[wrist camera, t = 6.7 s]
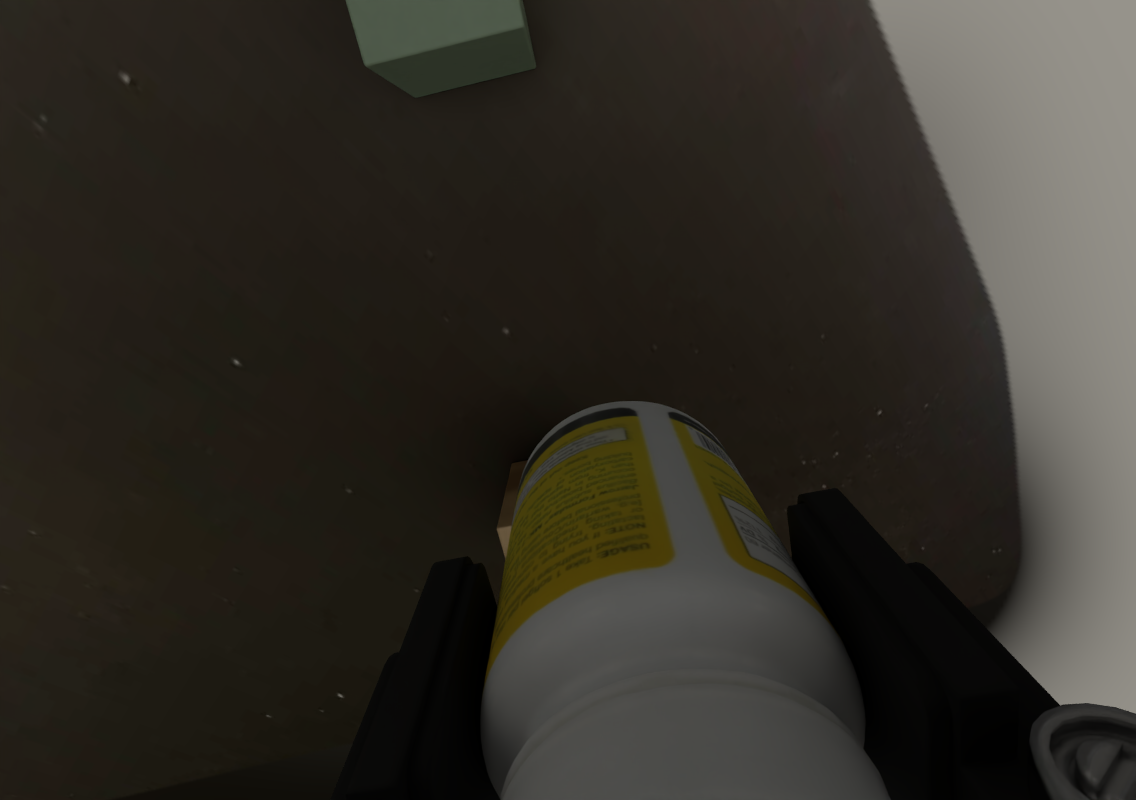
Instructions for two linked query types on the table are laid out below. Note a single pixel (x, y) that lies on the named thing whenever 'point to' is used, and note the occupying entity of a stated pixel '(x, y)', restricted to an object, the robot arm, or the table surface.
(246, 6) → the table surface
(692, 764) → the supplement bottle
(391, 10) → the sage block
